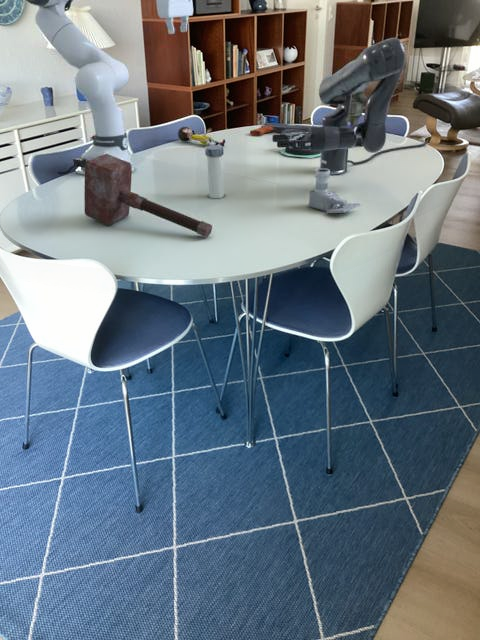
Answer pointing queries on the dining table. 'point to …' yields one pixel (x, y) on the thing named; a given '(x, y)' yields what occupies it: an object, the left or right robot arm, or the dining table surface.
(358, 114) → the statue
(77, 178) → the dining table surface
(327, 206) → the grey foot-shaped piece
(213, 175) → the jar
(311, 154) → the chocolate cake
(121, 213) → the sledgehammer
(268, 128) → the submachine gun
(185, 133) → the figurine
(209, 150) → the lid
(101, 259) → the dining table surface
